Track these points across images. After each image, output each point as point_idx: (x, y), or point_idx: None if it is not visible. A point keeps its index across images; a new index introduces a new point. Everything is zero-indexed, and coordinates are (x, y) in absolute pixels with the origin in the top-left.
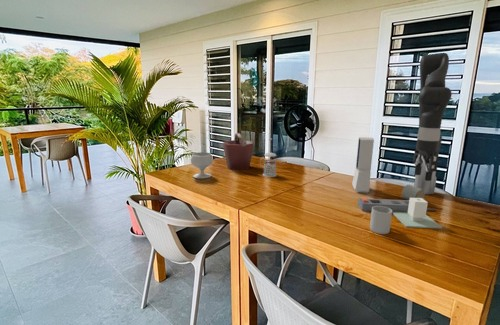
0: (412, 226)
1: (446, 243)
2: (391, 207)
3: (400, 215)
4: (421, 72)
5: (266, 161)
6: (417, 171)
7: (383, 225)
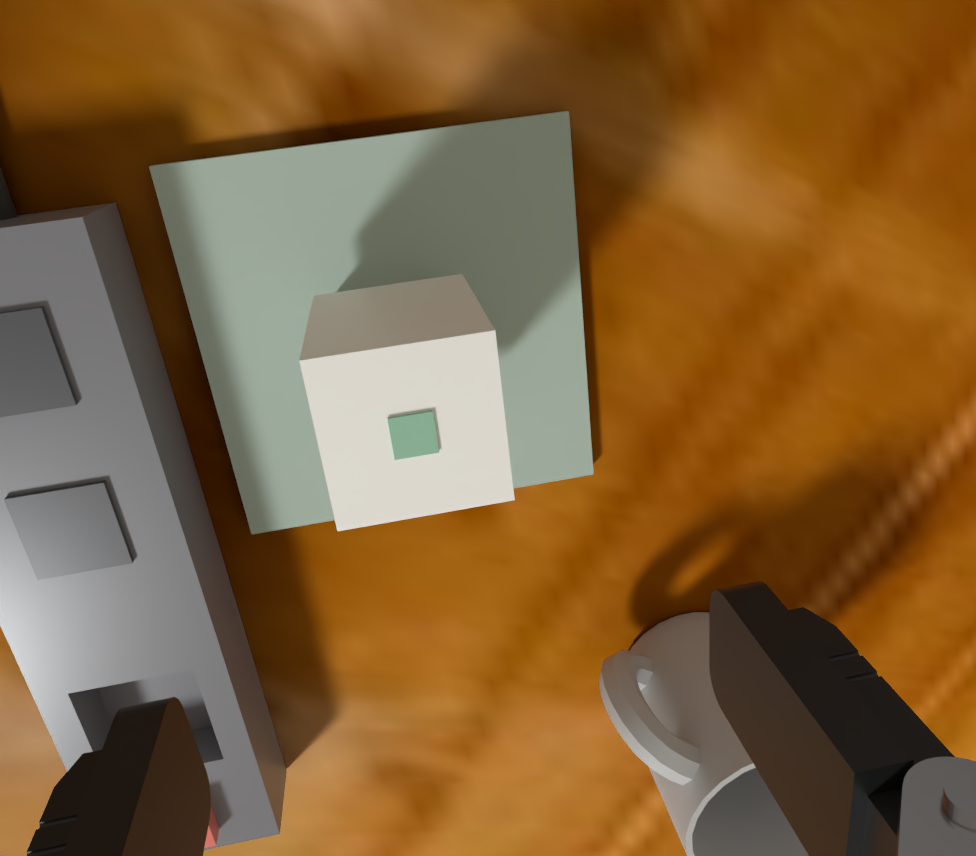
0: (588, 415)
1: (882, 209)
2: (207, 564)
3: None
4: None
5: None
6: (179, 847)
7: None
